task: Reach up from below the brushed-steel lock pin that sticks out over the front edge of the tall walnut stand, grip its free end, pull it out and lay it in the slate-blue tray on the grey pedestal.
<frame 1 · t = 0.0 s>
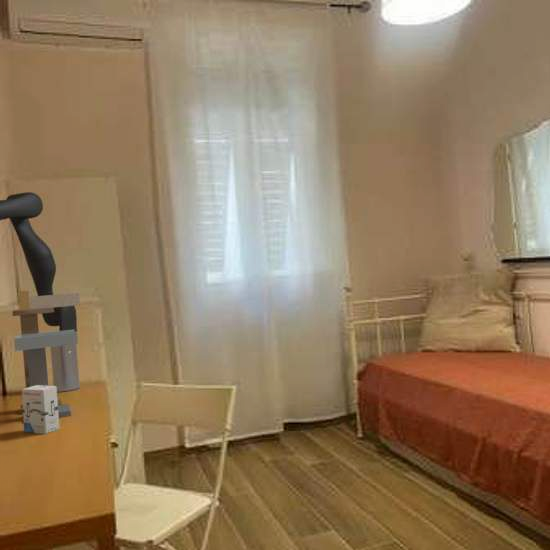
walnut stand: (41, 408, 189), on the table
lock pin: (50, 307, 191), point 32 cm above the table, touching walnut stand
ink box: (42, 431, 158), on the table
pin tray: (52, 414, 178), on the table
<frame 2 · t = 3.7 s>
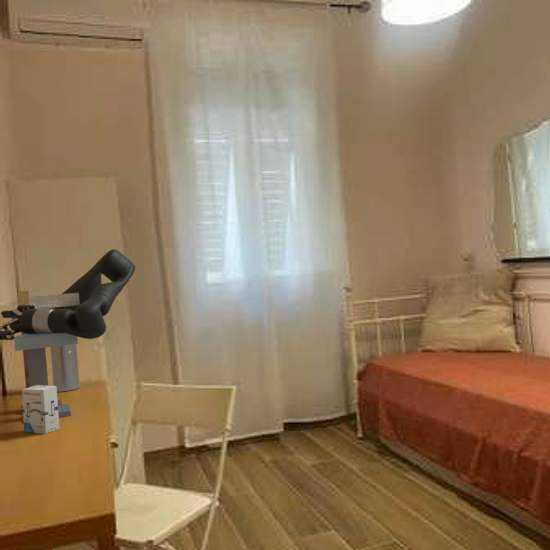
nothing on the table moved.
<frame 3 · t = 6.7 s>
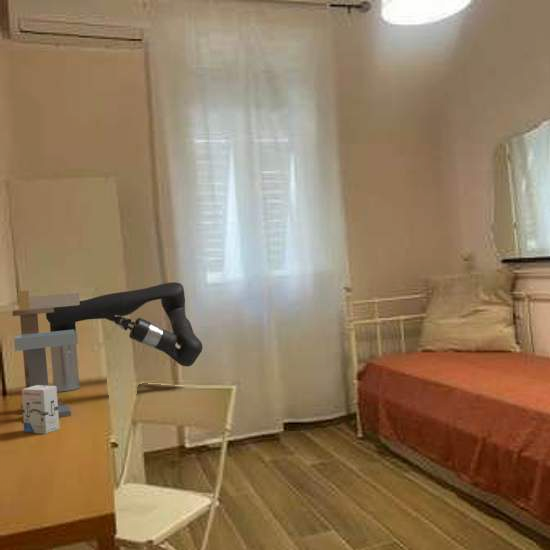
hand: (102, 313, 197), 29 cm above the table, tool pointing upward, fingers open, 8 cm apart
nothing on the table moved.
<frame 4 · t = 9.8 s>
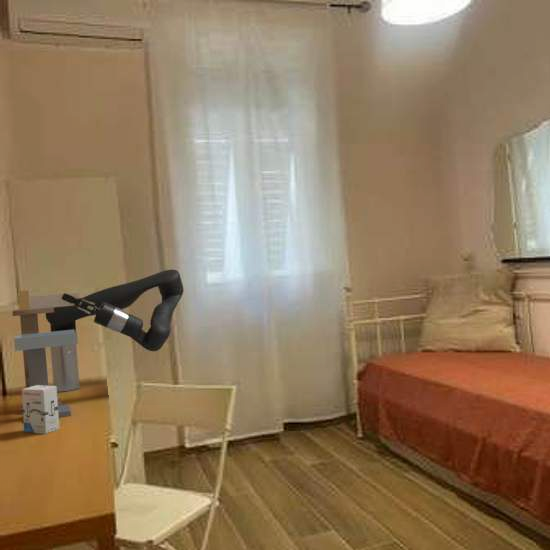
hand: (62, 296, 192), 35 cm above the table, tool pointing upward, fingers closed on lock pin, 4 cm apart
lock pin: (50, 307, 191), point 32 cm above the table, touching gripper, walnut stand
everything else where it was.
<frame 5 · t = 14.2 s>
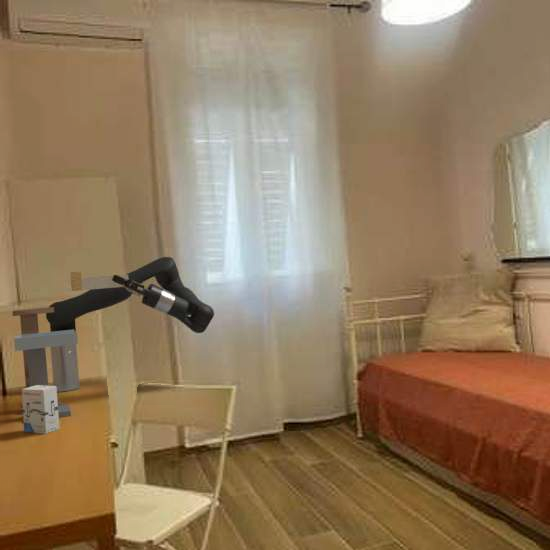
hand: (112, 277, 198), 40 cm above the table, tool pointing upward, fingers closed on lock pin, 4 cm apart
lock pin: (100, 288, 197), point 37 cm above the table, touching gripper
everything else where it was.
when the fingers open (27 cm above the table, at t = 18.9 s): lock pin drops 1 cm, resting on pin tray.
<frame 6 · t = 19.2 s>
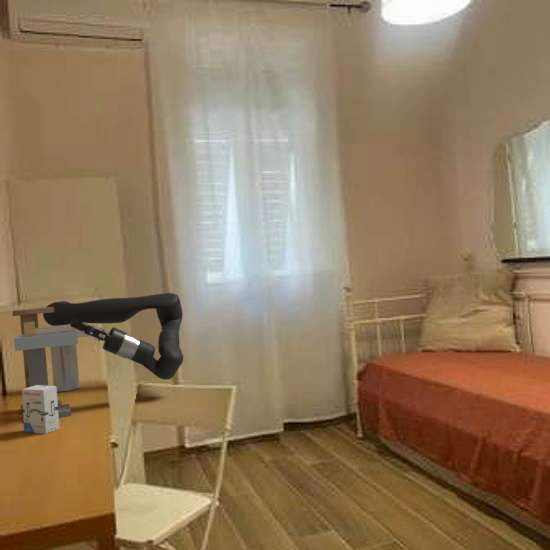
hand: (71, 322, 181), 27 cm above the table, tool pointing upward, fingers open, 6 cm apart
lock pin: (57, 339, 179), point 22 cm above the table, touching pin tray
everything else where it was.
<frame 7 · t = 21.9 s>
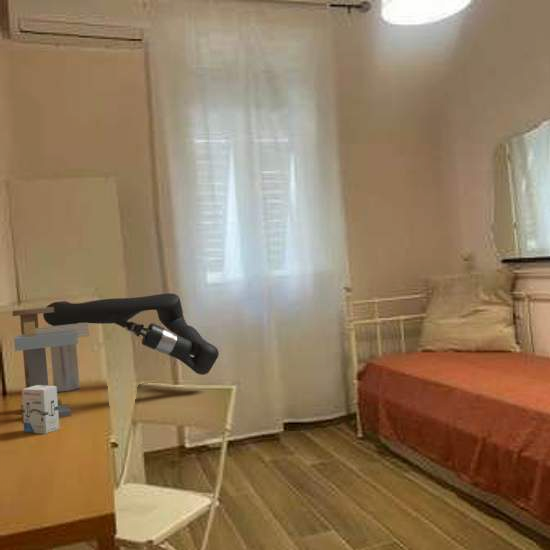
hand: (113, 318, 185), 27 cm above the table, tool pointing upward, fingers open, 8 cm apart
nothing on the table moved.
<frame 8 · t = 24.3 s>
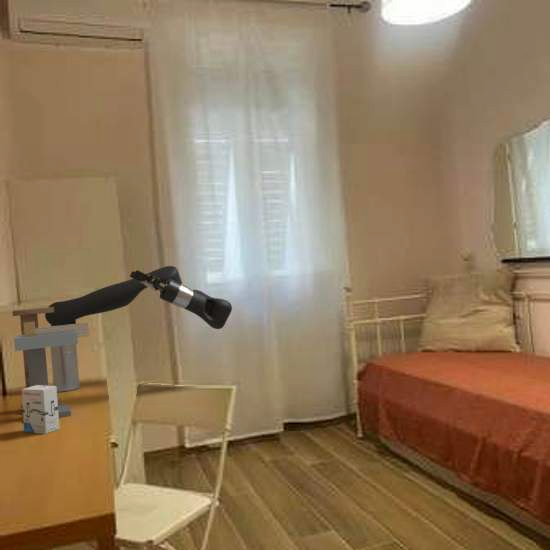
hand: (132, 273, 196), 41 cm above the table, tool pointing upward, fingers open, 8 cm apart
nothing on the table moved.
at the end: lock pin inside the target area on the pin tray (0.7 cm from its centre), point 22.5 cm above the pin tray's base; the gripper is holding nothing; lock pin tilted 0° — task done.
